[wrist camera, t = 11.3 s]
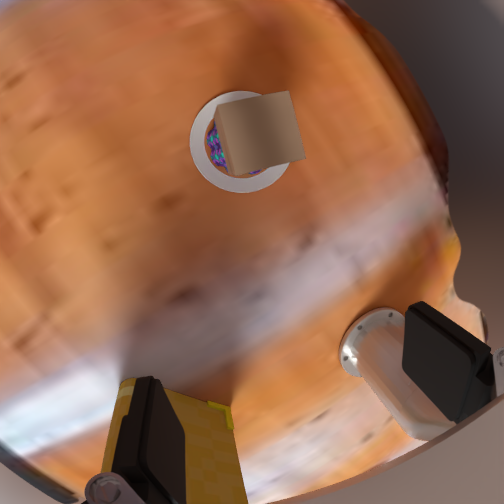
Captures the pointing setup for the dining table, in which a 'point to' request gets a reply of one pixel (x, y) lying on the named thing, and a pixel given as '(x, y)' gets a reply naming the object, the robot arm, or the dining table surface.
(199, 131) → the pudding
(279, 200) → the dining table surface
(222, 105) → the walnut cube
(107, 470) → the book
